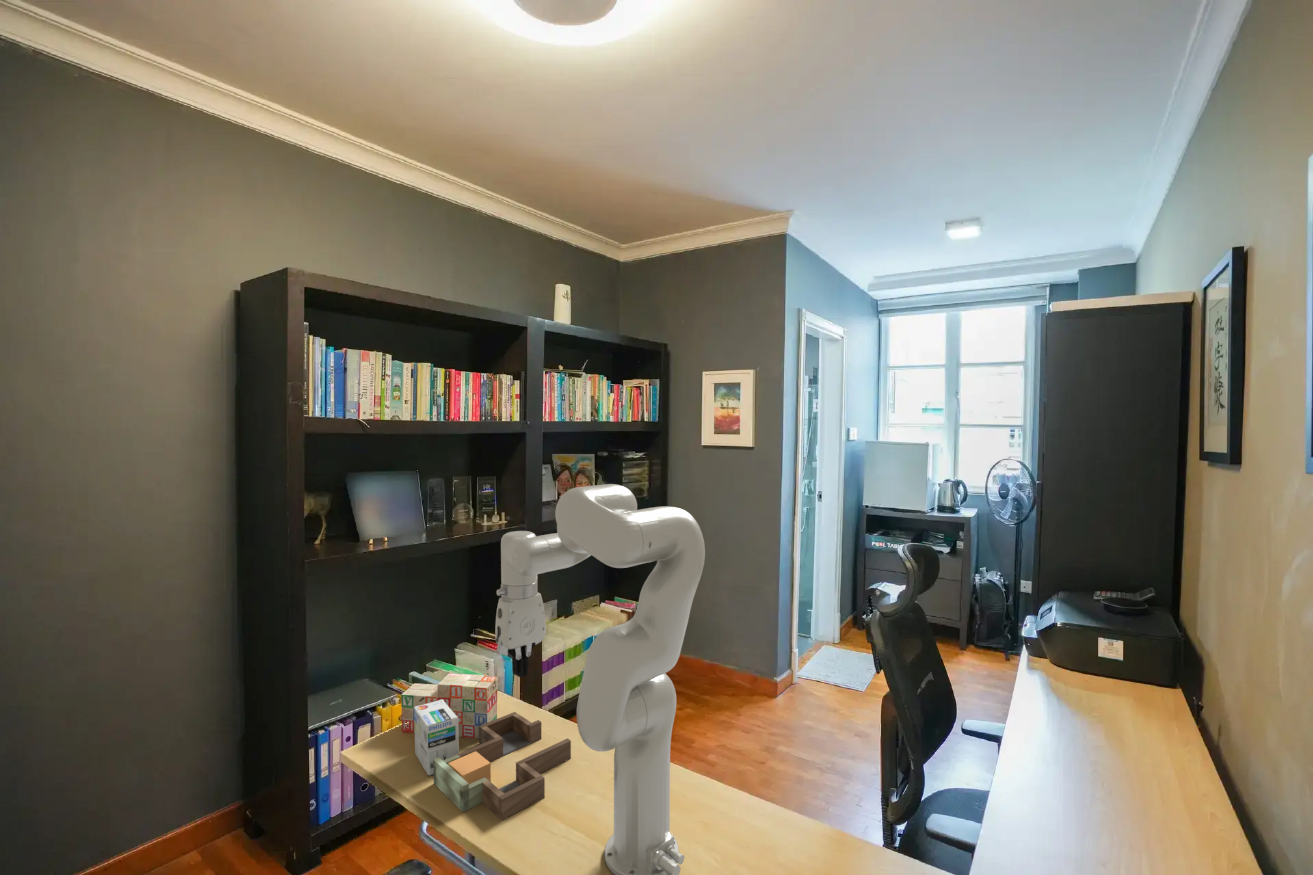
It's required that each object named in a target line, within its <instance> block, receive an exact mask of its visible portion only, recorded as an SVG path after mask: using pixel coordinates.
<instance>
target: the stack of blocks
mask: <svg viewBox="0 0 1313 875" xmlns="http://www.w3.org/2000/svg"><path fill="white" fill-rule="evenodd" d="M442 699H443V700H444V701H445V702H446V704H447V705H448V706H449V708H450V709H451V710H452V711H453V712H454V713H455V714H456V715H457V716H458V733H459V734H458V735H459V738H460V737H462V738H469V739H470V738H471V739H479V726H481V725H483V724H486V723H488V722H491V721H493V720H496V719H498V676H489V675H484V674H467V673H465V674H464V673H450V672H449V673H448V674H447V675H445V677H444V678H443V679H442V680H441V681H440V682H438V683H437V684H435V683H434V684H433V683H432V684H430V683H426V684H425V683H413V684H412V685H411V686H410V687H409V688H407V689H406V690H405V691H404V692H402V693H401V694H400V706H401V732H402V733H412V734H413V733H414V734H415V718H414V707H416V706H419V705H424V704H427V703H431V702H435V701H439V700H442ZM407 722H409V723H407ZM405 723H407V724H405ZM402 725H403V726H402Z"/></svg>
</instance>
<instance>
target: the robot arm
mask: <svg viewBox="0 0 1313 875" xmlns="http://www.w3.org/2000/svg"><path fill="white" fill-rule="evenodd" d="M555 507H556V508H555V512H554V514H555V523H556V531H557V532H556V533H548V534H547V533H546V534H544V535H543V534H542V535H536V534H535V533H534V532H532V531H528V530H516V531H509V532H506V533H505V534H503V535H502V537H501V541H500V562H501V563H500V567H501V568H500V573H501V574H500V576H501V577H500V578H501V579H500V580H501V582H500V583H501V584H500V588H499V589H497V590H496V595H497V596H498V597H499V599H498V603H497V608H496V615H495V627H494V628H495V633H494V634H495V636H494V637H495V643H496V644H497V646H496V653H497V654H499V655H509V656H510V657H511V660H512V661H511V662H512V663H511V664H512V665H511V666H512V667H511V668H512V669H511V670H512V674H513V675H515V676H516V677H519V678H523V677H527V676H528V675H529V674H528V672H529V671H528V670H529V657H530V656H531V655H532V650H533V649H534V648H535V646H536V645H538V644H539V643H541V642H542V641H543V639H545V637H546V633H547V631H546V630H547V629H546V627H547V626H546V616H545V615H546V614H545V607H544V601H543V598H542V594H541V593H540V592H538V575H540V574H545V573H548V572H554V571H558V570H563V569H567V568H571V567H573V566H575V565H577V564H579V563H581V562H583V561H584V560H586V559H588V558H589V557H591V556H592V557H594V558H595V559H596V560H598V561H599V562H601V563H603V564H604V565H606V566H608V567H611V568H616V569H624V568H625V569H626V568H631V567H635V566H638V565H642V564H643V565H644V564H646V563H647V564H648V563H652V562H656V564H655V566H654V567H653V569H652V571H651V572H650V574H649V575H648V576H647V578H646V580H645V581H644V583H643V585H642V587H641V590H640V593H639V596H638V603H637V607H636V611H635V613H634V615H633V616H632V617H631V618H630V619H629V620H628V621H626V622H624V623H620V624H618V625H614V626H612V627H609V628H607V629H605V630H603V631H600V633H599V634H598V635H597V636H595V638H594V639H593V641H592V643H591V644H590V646H589V648H588V651H587V655H586V660H585V664H584V669H583V674H582V678H581V685H580V688H579V689H580V690H579V695H578V700H577V705H576V724H577V729H578V733H579V736H580V738H581V740H582V742H583V743H584V744H585V746H587V747H588V748H589V749H590V750H592V751H596V752H602V753H603V752H609V751H611V750H614V754H613V834H612V835H611V836H610V837H609V838H608V839H607V841H606V843H605V847H604V860H605V864H606V866H607V868H608V869H609V871H611V873H613V875H680V873H681V866H680V865H682V864H683V863H684V861H685V855H684V854H682V853H681V852H679V851H680V849H679V845H678V841H677V840H676V838H675V835H674V834H673V833H671V832H670V830H671V829H670V828H671V827H670V825H671V824H670V822H671V821H670V819H671V818H670V817H671V816H670V815H671V814H670V811H671V810H670V809H671V808H670V807H671V806H670V805H671V804H670V803H671V800H670V799H671V795H670V794H671V793H670V792H671V791H670V790H671V775H670V774H671V741H672V732H673V726H674V721H675V716H676V710H677V693H676V688H675V685H674V683H673V681H672V680H671V678H670V677H669V676H668V675H667V673H668V672H670V671H671V670H672V669H674V667H675V666H676V664H677V662H678V661H679V658H680V655H681V651H682V647H683V642H684V639H685V635H686V630H687V626H688V623H689V619H690V613H691V609H692V605H693V602H694V597H695V595H696V591H697V589H698V586H699V583H700V581H701V577H702V574H703V571H704V570H703V569H704V566H705V558H706V548H705V546H706V545H705V540H704V537H703V536H704V535H703V532H702V529H701V527H700V525H699V523H698V522H697V520H696V519H695V518H694V516H693V515H692V514H691V513H690V512H688V511H687V510H685V509H683V508H680V507H676V506H668V505H667V506H666V505H665V506H655V507H648V508H641V509H638V501H637V499H636V497H635V495H634V493H633V492H632V491H631V490H630V489H629V488H627V487H625V486H623V485H620V484H615V483H608V484H607V483H606V484H597V485H587V486H581V487H580V486H578V487H573V488H570V489H568V490H567V491H566V492H564V493H563V494H562V495H561V496H560V498H559V499H558V501H557V503H556V505H555ZM500 596H501V597H500Z"/></svg>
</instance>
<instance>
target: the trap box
mask: <svg viewBox="0 0 1313 875" xmlns="http://www.w3.org/2000/svg"><path fill="white" fill-rule="evenodd" d="M541 739H542V721H541V720H540V719H538V720H535V721H533V722H532V721H530V720H528V719H527V718H525V717H524V716H522V715H520V714H519V713H517V712H516V711H513V712H511V713H508V714H506V715H503V716H501V717H497V719H496V720H493V721H491V722H488V723H486V724H483V725H481V726H479V738H478V743H479V744H478V745H476V746H473V747H471V748H469V749H466V750H464V751H462V752H459V754H457V755H455V756H452V757H450V758H448V759H445V760H442V759H441V758H436V759H434V774H433V785H434V786H435V787H436V788H438V789H439V791H441V792H442V793H443V794H444V795H445V796H446V797H447V798H448V799H449V800H450V801H451V802H452V803H453V804H454V805H455V806H456V807H457V808H458V809H460V811H461V812H462V813H465V812H467V811H469V810H471V809H473V808H474V807H477V806H478V805H481V804H483V805H484V806H485V807H487V809H489V811H491V812H492V813H493V814H494V815H496V816H497V817H498V818H499V819H500V820H501V821H504V820H506V819H507V818H509V817H512V816H513V815H515V814H517V813H519V812H521V811H522V810H524V809H526V808H527V807H530V806H532V805H533V804H535V803H538V802H539V801H541V800H543V799H545V796H546V795H545V794H546V793H545V791H546V789H545V787H546V786H545V785H546V784H545V780H546V779H545V778H546V777H544V775H542V773H545V772H547V771H549V770H550V769H553V768H555V767H556V766H559V765H561V764H562V763H564V762H567V761H568V760H570V759H571V758H572V750H571V749H572V746H571V745H572V740H571V739H570V738H566V739H563V740H560V741H559V742H557V743H554V744H552V745H550V746H549V747H546V748H543V749H542V750H540V751H537V752H536V753H533V754H531V755H529V756H526V757H525V758H523V759H521V760H518V761H516V762H515V780H514V781H512V782H510V783H507V784H506V785H503V786H502V787H498V786H496V785H495V784H493V783H492V782H490V781H489V780H488V779H486V778H485V777H484V778H482V779H480V780H478V781H475V782H473V783H471V784H469V783H467V782H466V781H465V780H464V779H463V778H462V777H461V776H460V775H459V774H457V773H456V772H455V771H454V770H453V769H452V768H451V767H450V766H449V764H448V763H449V762H452V761H454V760H456V759H459V758H461V757H463V756H466V755H468V754H470V753H473V752H475V751H476V752H478V753H479V754H480V755H481V756H483V757H484V758H485V759H486V760H487V761H489V762H490V763H492V762H493V761H496V760H497V759H500V758H501V757H505V756H507V755H508V754H509V755H510V754H511V753H513V752H515V751H517V750H520V749H522V748H524V747H527V746H529V745H530V744H534V743H535V742H537V741H540V740H541Z"/></svg>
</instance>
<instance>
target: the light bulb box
mask: <svg viewBox="0 0 1313 875" xmlns="http://www.w3.org/2000/svg"><path fill="white" fill-rule="evenodd" d="M414 718H415V733H414V755H415V756H416V757H417V759H418V761H419V763H420V764H421V766H422V768H423V769H424V771H425V773H426V775H427V776H432V775H434V759H436V758H441V759H442V760H445V759H448V758H450V757H452V756H455V755H457V754H459V753H460V750H459V749H460V747H459V746H460V744H459V742H460V741H459V738H460V737H459V735H458V734H459V733H458V716H457V715H456V714H455V713H454V712H453V711H452V710H451V709H450V708H449V706H448V705H447V704H446V702H445V701H444V700H443V699H442V700H439V701H435V702H431V703H427V704H424V705H419V706H416V707H414Z"/></svg>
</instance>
